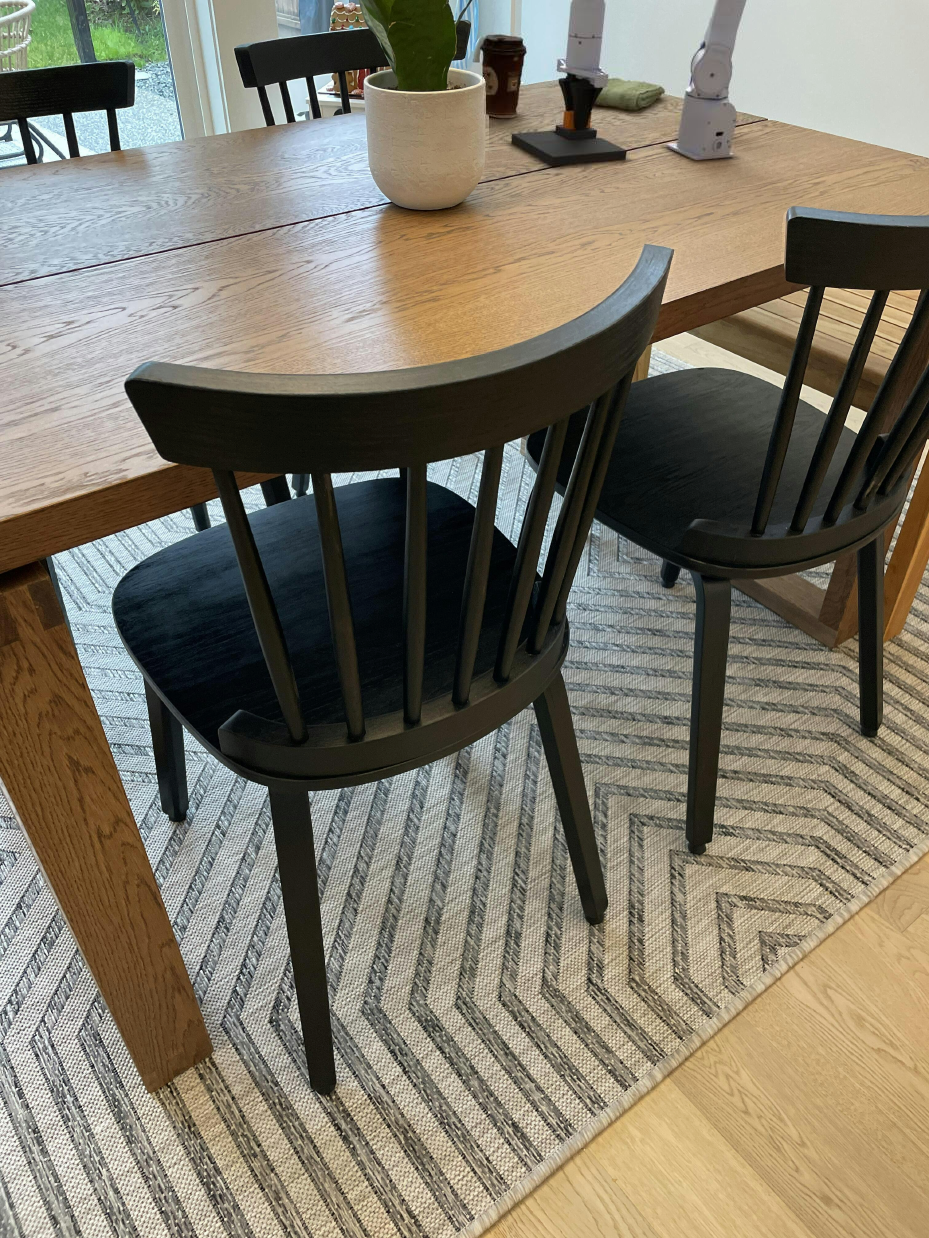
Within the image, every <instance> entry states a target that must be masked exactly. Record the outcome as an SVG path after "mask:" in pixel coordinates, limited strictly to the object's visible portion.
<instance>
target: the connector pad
mask: <svg viewBox="0 0 929 1238" xmlns="http://www.w3.org/2000/svg"><path fill="white" fill-rule="evenodd" d="M591 121H592V111H591V114H590V118H589V121H588V124H587V127H586V128H580V129H576V128H574V111H566V110H564V111H563V120H562V124H556V125H555V134H557V135H559V136H561V137H563V138H565V139H567V140H577V139H589V138H597V135H598V130H597V129H596V128H594V127H592V126H591Z"/></svg>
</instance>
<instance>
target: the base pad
mask: <svg viewBox="0 0 929 1238" xmlns="http://www.w3.org/2000/svg"><path fill="white" fill-rule="evenodd" d="M510 139H511V141H510V142H511V144H512V145H514V146H516V147H518V148H519V149H521V150H523V151H524V152H527V153H528V154H530V155H531V156H533V157H534V158H536V159H538V160H540V161H542V162H544V163H545V164H547V165H549V166H551V167H554V168H555V167H564V166H573V165H575V166H576V165H585V164H597V163H606V162H617V161H626V160H627V154H628V153H627V152H628V151H627V149H624V148H623V147H621V146H620V145H617V144H615V143H612V142H611V141H608V140H606V139H605V138H603V137H596V138H589V139H577V140H567V139H565V138H563V137H561V136H559V135H557V134H555V130H553V129H551V130H541V131H530V132H528V131H527V132H516V133H511V138H510Z"/></svg>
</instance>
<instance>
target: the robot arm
mask: <svg viewBox="0 0 929 1238" xmlns="http://www.w3.org/2000/svg"><path fill="white" fill-rule="evenodd" d="M746 4H747V0H715V2H714V6H713V9H712V13H711V16H710V18H711V20H710V19H709V21H710V23H709V22H708V26H707V28H706V31H705V34H704V36H703V40H702V42H701V43H702V45H701V44H700V45H701V46H699V48H698V49H697V50H696V52H695V53H694V54H693V56H692V58H691V61H690V75H691V74H692V80H693V82H692V84H691V85H690V84H689V86H687V87H686V88H685V93H684V97H683V102H682V103H683V104H682V110H681V115H680V116H681V117H680V123H679V129H678V135H677V142H673V143H671V142H670V143H666V148H668V149H670V150H672V151H675V152H677V153H679V154H681V155H684V156H685V157H687V158H690V159H692V160H695V161H703V160H710V159H711V160H712V159H721V158H723V159H724V158H732V157H734V156H735V155H734V154H735V153H733V152H731V149H732V145H733V139H734V134H735V129H736V123H737V118H738V117H737V108H736V107H735V105H734V104H733V103H731V102H730V100H729V96H730V95H729V94H730V90H729V89H726V87H727V86H728V84H729V85H730V83H731V81H732V77H733V68H732V67H733V64H732V65H731V61H732V57H733V53H734V50H735V46H736V41H737V34H738V30H739V26H740V23H741V20H742V17H743V13H744V10H745V6H746ZM606 6H607V5H606V2H605V0H571V1H570V6H569V7H570V8H569V18H568V29H567V43H566V54H565V55H566V57H561V58H557V60H556V61H557V63H556V72H558V73H564V74H566V76H565V77H561V78H558V86H559V87H560V90H561V93H562V97H563V101H564V102H563V103H564V108H565V111H574V128H576V129H580V128H586V127H587V124H588V121H589V118H590V114H591V115H592V113H591V112H592V111H593V109H594V106H595V105H596V104H595V102H596V100H597V98H598V96H599V94H600V93H601V91H602V90H603V87H607V84H608V79H609V73H608V72H606V71H604V69H603V67H601V66H600V64H601V54H602V45H603V36H604V35H603V34H604V26H605V14H606Z"/></svg>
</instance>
